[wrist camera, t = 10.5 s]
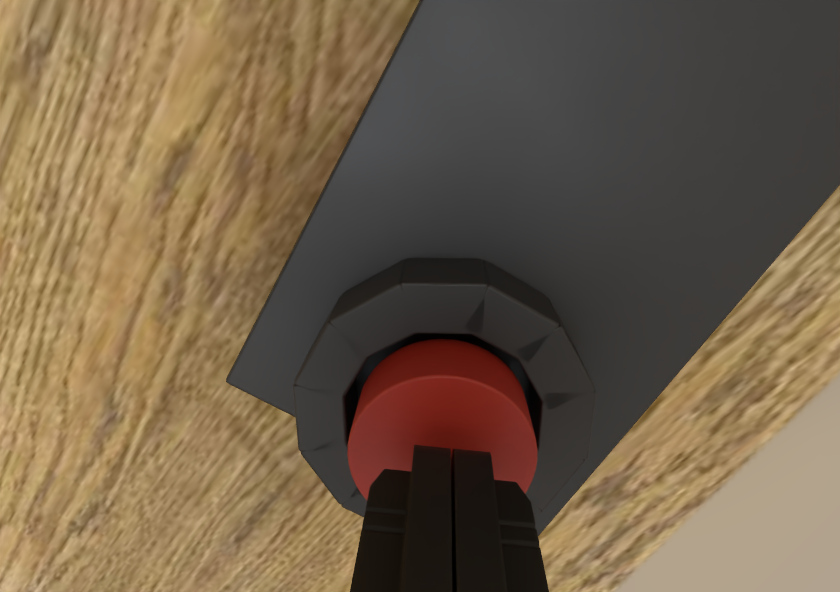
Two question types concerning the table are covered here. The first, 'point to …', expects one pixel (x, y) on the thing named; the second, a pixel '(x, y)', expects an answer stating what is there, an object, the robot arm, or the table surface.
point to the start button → (441, 412)
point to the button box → (554, 211)
